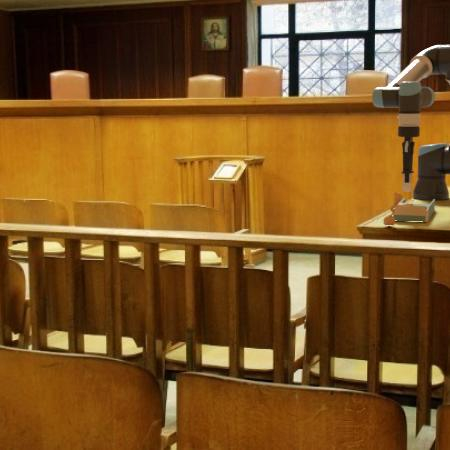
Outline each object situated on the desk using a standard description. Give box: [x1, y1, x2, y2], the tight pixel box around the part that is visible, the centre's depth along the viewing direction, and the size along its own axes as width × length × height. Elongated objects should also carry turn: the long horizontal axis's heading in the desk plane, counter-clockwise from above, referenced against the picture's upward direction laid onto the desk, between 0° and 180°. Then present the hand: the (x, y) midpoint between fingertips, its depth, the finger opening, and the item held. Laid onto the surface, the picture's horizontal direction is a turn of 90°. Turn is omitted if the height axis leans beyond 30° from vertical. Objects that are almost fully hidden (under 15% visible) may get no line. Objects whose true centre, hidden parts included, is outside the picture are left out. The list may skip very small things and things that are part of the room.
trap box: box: [392, 197, 436, 223], centre depth 286 cm, size 30×12×6 cm, turn 160°
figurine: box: [383, 191, 403, 226], centre depth 262 cm, size 8×6×12 cm
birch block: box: [398, 202, 413, 205], centre depth 278 cm, size 5×5×3 cm
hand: (407, 191), depth 280 cm, fingers closed
